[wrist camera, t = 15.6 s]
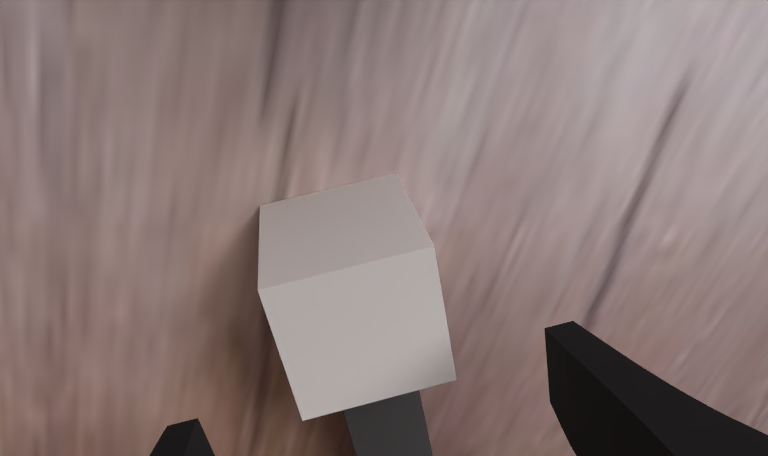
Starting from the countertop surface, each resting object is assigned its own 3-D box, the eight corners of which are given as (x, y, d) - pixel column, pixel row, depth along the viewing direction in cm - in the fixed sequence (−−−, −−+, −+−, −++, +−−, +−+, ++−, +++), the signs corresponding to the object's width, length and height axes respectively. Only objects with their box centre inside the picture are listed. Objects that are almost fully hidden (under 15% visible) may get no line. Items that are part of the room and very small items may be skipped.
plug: (461, 516, 25) (498, 629, 21) (366, 543, 24) (385, 662, 21) (396, 172, 17) (434, 245, 13) (259, 205, 17) (257, 290, 13)
